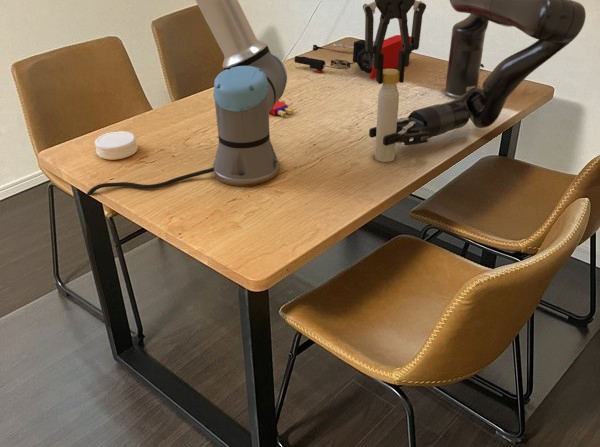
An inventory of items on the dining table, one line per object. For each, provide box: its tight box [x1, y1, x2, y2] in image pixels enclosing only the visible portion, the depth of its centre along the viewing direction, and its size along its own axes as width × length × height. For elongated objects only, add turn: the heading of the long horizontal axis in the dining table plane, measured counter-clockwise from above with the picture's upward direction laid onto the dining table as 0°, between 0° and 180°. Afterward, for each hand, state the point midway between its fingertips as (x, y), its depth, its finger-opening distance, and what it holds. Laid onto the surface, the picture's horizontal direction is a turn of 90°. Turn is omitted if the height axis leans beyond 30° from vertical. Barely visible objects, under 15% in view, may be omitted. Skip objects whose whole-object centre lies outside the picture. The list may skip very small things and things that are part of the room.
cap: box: [382, 68, 400, 85], centre depth 140 cm, size 4×4×2 cm
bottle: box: [374, 83, 400, 163], centre depth 145 cm, size 5×5×21 cm
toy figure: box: [269, 99, 294, 117], centre depth 177 cm, size 2×7×12 cm
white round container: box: [94, 130, 139, 161], centre depth 154 cm, size 10×10×4 cm
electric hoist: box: [293, 34, 411, 80], centre depth 208 cm, size 10×27×30 cm
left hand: (389, 81), depth 141 cm, fingers closed on cap, 4 cm apart
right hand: (377, 137), depth 146 cm, fingers closed on bottle, 4 cm apart
